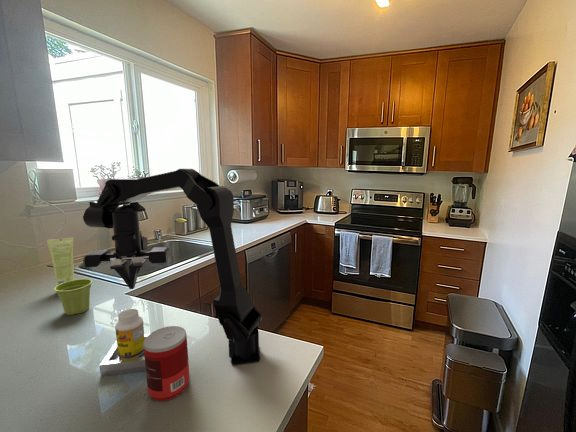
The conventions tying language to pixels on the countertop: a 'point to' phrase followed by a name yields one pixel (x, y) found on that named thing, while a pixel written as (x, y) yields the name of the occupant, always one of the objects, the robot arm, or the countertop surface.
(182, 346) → the canned food
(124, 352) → the supplement bottle
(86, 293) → the plant pot
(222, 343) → the countertop surface
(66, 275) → the tube
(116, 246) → the robot arm
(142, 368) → the square metal tray
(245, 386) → the countertop surface
